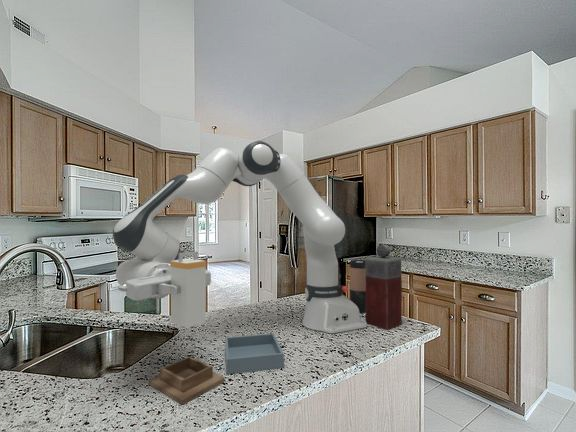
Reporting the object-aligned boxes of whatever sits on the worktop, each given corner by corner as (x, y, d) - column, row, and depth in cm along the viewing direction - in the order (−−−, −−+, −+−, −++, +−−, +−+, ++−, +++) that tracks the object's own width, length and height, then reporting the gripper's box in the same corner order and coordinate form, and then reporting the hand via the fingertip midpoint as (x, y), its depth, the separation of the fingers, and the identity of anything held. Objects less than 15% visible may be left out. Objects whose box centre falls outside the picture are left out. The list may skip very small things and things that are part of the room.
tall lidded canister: (170, 322, 70) (170, 252, 70) (189, 316, 74) (189, 250, 74) (186, 328, 67) (186, 254, 67) (205, 321, 71) (205, 252, 71)
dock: (148, 384, 70) (148, 368, 70) (190, 365, 78) (190, 351, 79) (182, 405, 62) (182, 387, 62) (224, 381, 71) (224, 366, 71)
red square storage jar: (405, 323, 110) (405, 244, 110) (387, 330, 103) (387, 246, 103) (383, 316, 117) (383, 243, 117) (365, 323, 110) (365, 244, 110)
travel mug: (372, 310, 125) (372, 261, 126) (363, 314, 120) (363, 263, 120) (355, 306, 131) (355, 259, 131) (346, 310, 125) (346, 261, 125)
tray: (273, 345, 91) (273, 333, 91) (283, 367, 77) (283, 353, 77) (225, 349, 88) (225, 337, 88) (226, 374, 74) (226, 359, 74)
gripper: (114, 273, 70) (146, 281, 62) (191, 262, 86) (224, 267, 78) (114, 301, 70) (146, 312, 62) (191, 285, 86) (224, 292, 78)
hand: (190, 287), depth 70 cm, fingers closed on tall lidded canister, 5 cm apart
